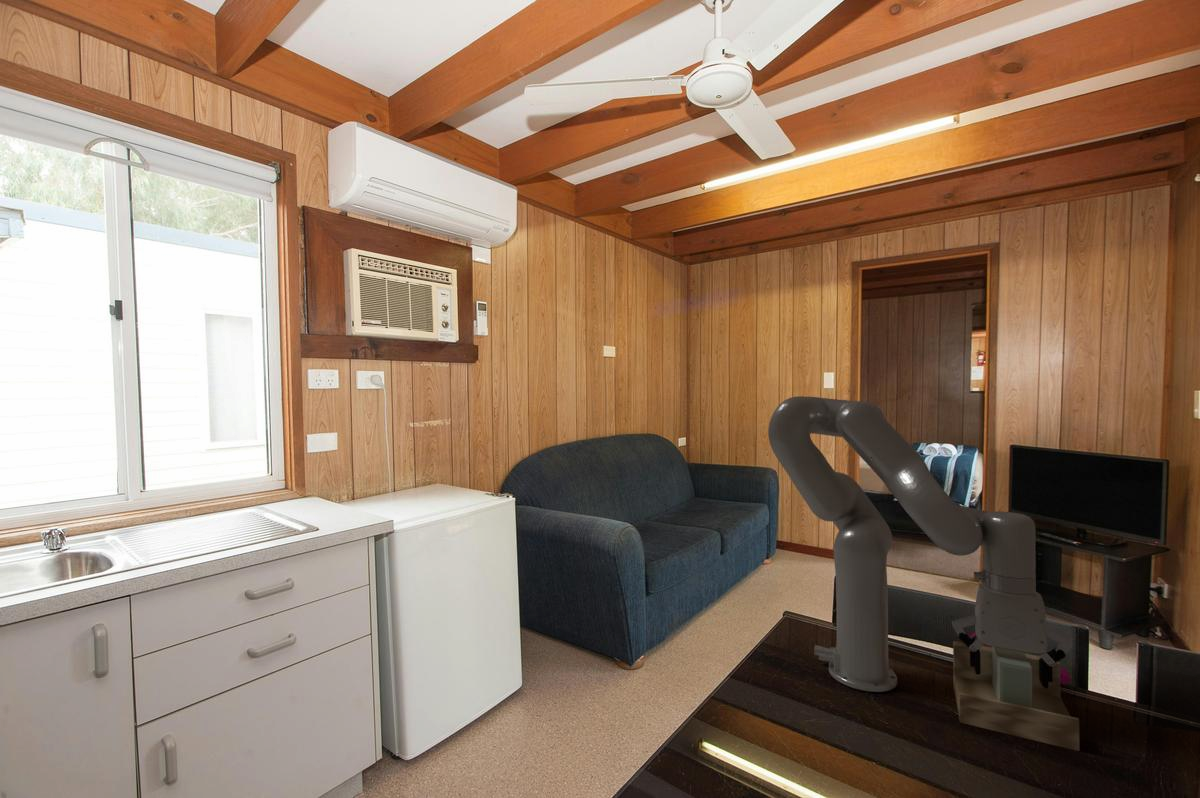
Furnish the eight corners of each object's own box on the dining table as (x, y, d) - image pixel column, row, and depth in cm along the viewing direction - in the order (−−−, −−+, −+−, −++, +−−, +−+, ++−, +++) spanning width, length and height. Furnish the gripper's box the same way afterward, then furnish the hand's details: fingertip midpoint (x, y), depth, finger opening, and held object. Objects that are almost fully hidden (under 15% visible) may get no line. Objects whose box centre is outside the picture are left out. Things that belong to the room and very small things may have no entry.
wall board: (960, 722, 94) (959, 671, 94) (953, 686, 106) (953, 640, 106) (1079, 751, 86) (1078, 695, 86) (1057, 708, 98) (1057, 659, 98)
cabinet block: (1000, 708, 93) (999, 662, 93) (992, 683, 101) (992, 641, 101) (1032, 715, 91) (1031, 668, 91) (1021, 689, 99) (1021, 646, 99)
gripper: (953, 580, 97) (953, 675, 97) (1077, 597, 89) (1078, 701, 89) (949, 569, 104) (950, 657, 104) (1065, 583, 95) (1066, 680, 95)
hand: (1009, 677), depth 96 cm, fingers open, 9 cm apart
